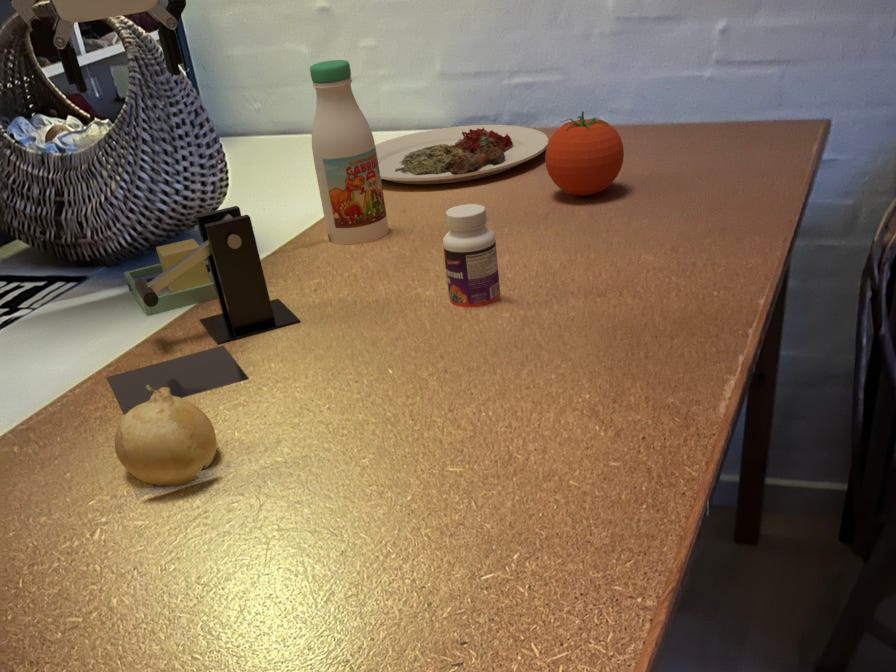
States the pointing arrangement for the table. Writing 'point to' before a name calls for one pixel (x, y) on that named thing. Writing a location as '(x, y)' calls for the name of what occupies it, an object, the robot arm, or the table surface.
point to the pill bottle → (470, 257)
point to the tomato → (584, 156)
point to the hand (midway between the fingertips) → (129, 82)
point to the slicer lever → (172, 273)
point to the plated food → (457, 153)
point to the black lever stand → (238, 280)
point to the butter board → (177, 377)
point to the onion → (165, 440)
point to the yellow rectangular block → (174, 254)
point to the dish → (170, 299)
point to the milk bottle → (345, 159)
